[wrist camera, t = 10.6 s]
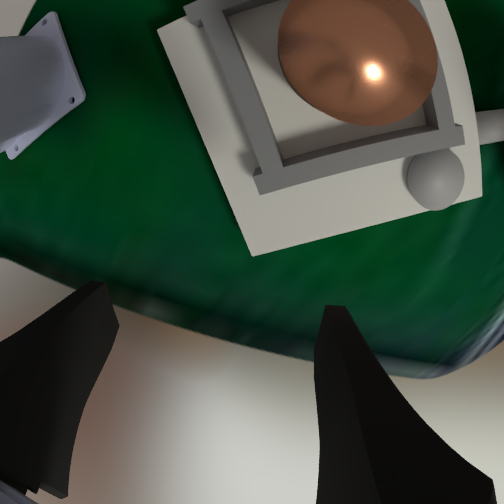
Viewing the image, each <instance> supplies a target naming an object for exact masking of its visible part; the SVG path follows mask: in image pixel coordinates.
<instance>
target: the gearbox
mask: <svg viewBox="0 0 504 504" xmlns="http://www.w3.org/2000/svg"><path fill="white" fill-rule="evenodd" d="M290 1H291V0H197V1H195V2H193V3H190V4H188V5H186V6H184V7H183V8H184V10H185V12H186V16H184V17H182V18H180V19H178V20H176V21H174V22H172V23H169V24H167V25H165V26H163V27H162V28H160V29H158V30H157V32H158V34H159V36H160V39H161V41H162V43H163V46H164V48H165V51H166V53H167V55H168V58H169V60H170V63H171V65H172V67H173V70H174V72H175V74H176V77H177V79H178V82H179V84H180V86H181V89H182V91H183V94H184V96H185V98H186V101H187V103H188V105H189V108H190V110H191V113H192V115H193V117H194V120H195V122H196V124H197V127H198V129H199V132H200V134H201V136H202V139H203V141H204V143H205V146H206V148H207V151H208V153H209V155H210V158H211V160H212V162H213V165H214V167H215V170H216V172H217V174H218V177H219V179H220V181H221V184H222V186H223V189H224V191H225V193H226V196H227V198H228V200H229V203H230V205H231V207H232V210H233V212H234V215H235V217H236V219H237V222H238V224H239V226H240V229H241V231H242V234H243V236H244V238H245V241H246V243H247V245H248V248H249V250H250V252H251V255H252V256H256V255H260V254H264V253H268V252H272V251H276V250H279V249H283V248H287V247H291V246H295V245H299V244H303V243H307V242H310V241H314V240H318V239H322V238H326V237H330V236H334V235H337V234H341V233H345V232H349V231H353V230H357V229H360V228H364V227H368V226H372V225H376V224H380V223H383V222H387V221H391V220H395V219H399V218H403V217H406V216H410V215H414V214H418V213H422V212H425V211H429V210H442V209H445V208H447V207H448V206H450V205H452V204H456V203H459V202H463V201H467V200H471V199H474V198H478V197H482V174H481V158H480V147H479V145H482V144H488V143H493V142H499V141H504V109H498V110H489V111H481V112H475V109H474V103H473V97H472V92H471V87H470V83H469V78H468V74H467V70H466V65H465V62H464V58H463V54H462V51H461V47H460V44H459V40H458V37H457V34H456V31H455V28H454V25H453V22H452V19H451V16H450V14H449V11H448V8H447V6H446V3H445V1H444V0H408V1H410V2H411V3H412V4H413V6H414V7H415V8H416V9H417V10H418V11H419V12H420V14H421V15H422V16H423V18H424V19H425V21H426V23H427V24H428V26H429V28H430V30H431V33H432V35H433V38H434V41H435V44H436V50H437V58H438V67H437V75H436V79H435V83H434V85H433V88H432V90H431V92H430V94H429V96H428V97H427V99H426V100H425V101H424V103H423V104H422V105H421V106H420V107H419V108H418V109H417V110H416V111H415V112H413V113H412V114H410V115H409V116H407V117H405V118H403V119H402V120H400V121H397V122H394V123H391V124H386V125H381V126H360V125H355V124H350V123H346V122H343V121H340V120H338V119H335V118H333V117H331V116H329V115H327V114H325V113H323V112H321V111H319V110H317V109H316V108H314V107H312V106H311V105H309V104H308V103H306V102H305V101H304V100H302V99H301V98H300V97H299V96H298V95H297V94H296V93H295V92H294V91H293V90H292V89H291V87H290V86H289V84H288V83H287V81H286V79H285V77H284V76H283V73H282V70H281V68H280V63H279V58H278V30H279V25H280V21H281V18H282V15H283V13H284V11H285V9H286V7H287V6H288V4H289V2H290Z"/></svg>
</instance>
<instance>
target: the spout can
mask: <svg viewBox="0 0 504 504" xmlns="http://www.w3.org/2000/svg"><path fill="white" fill-rule="evenodd" d="M278 58H279V63H280V68H281V70H282V73H283V76H284V77H285V79H286V81H287V83H288V84H289V86H290V87H291V89H292V90H293V91H294V92H295V93H296V94H297V95H298V96H299V97H300V98H301V99H302V100H304V101H305V102H306V103H308V104H309V105H311V106H312V107H314V108H316V109H317V110H319V111H321V112H323V113H325V114H327V115H329V116H331V117H333V118H335V119H338V120H340V121H343V122H346V123H350V124H355V125H360V126H381V125H386V124H391V123H394V122H397V121H400V120H402V119H403V118H405V117H407V116H409V115H410V114H412V113H413V112H415V111H416V110H417V109H418V108H419V107H420V106H421V105H422V104H423V103H424V101H425V100H426V99H427V97H428V96H429V94H430V92H431V90H432V88H433V85H434V83H435V79H436V75H437V67H438V58H437V50H436V44H435V41H434V38H433V35H432V33H431V30H430V28H429V26H428V24H427V23H426V21H425V19H424V18H423V16H422V15H421V14H420V12H419V11H418V10H417V9H416V8H415V7H414V6H413V4H412V3H411V2H410V1H408V0H291V1H290V2H289V4H288V6H287V7H286V9H285V11H284V13H283V15H282V18H281V21H280V25H279V30H278Z"/></svg>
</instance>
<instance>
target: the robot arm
mask: <svg viewBox="0 0 504 504" xmlns="http://www.w3.org/2000/svg"><path fill="white" fill-rule="evenodd" d="M46 21H47V23H46ZM45 23H46V24H45ZM73 97H74V99H75V101H74V103H73V102H72V99H73ZM85 97H86V94H85V90H84V88H83V85H82V83H81V80H80V78H79V75H78V73H77V70H76V67H75V65H74V62H73V59H72V56H71V54H70V51H69V48H68V45H67V42H66V39H65V36H64V33H63V30H62V27H61V24H60V21H59V18H58V15H57V13H56V12H49V13H48V14H47V15H46V16H44V17H43V18H42V19H41V20H40V21H39V22H38V23H37V24H36V25H35V26H34V27H33V28H32V29H31V30H30V31H29V32H28V33H27V34H26V35H25V36H11V37H0V153H1V152H3V151H6V153H7V155H8V157H9V159H11V160H12V159H14V158H16V157H17V156H18V155H19V154H20V153H21V152H22V151H23V150H24V149H25V148H26V147H27V146H29V145H30V144H31V143H32V142H33V141H34V140H35V139H36V138H38V137H39V136H40V135H41V134H42V133H43V132H45V131H46V130H47V129H48V128H49V127H51V126H52V125H53V124H54V123H56V122H57V121H58V120H59V119H61V118H62V117H63V116H65V115H66V114H67V113H69V112H70V111H71V110H72V109H74V108H75V107H77V106H78V105H79V104H81V103H82V102H83V101H84V100H85ZM118 328H119V323H118V320H117V317H116V314H115V312H114V308H113V305H112V302H111V299H110V296H109V293H108V290H107V286H106V283H103V282H96V281H90V282H89V283H87V284H85V285H84V286H82V287H81V288H79V289H78V290H76V291H75V292H73V293H72V294H70V295H69V296H68V297H66V298H65V299H63V300H62V301H61V302H59V303H58V304H56V305H55V306H54V307H52V308H51V309H49V310H48V311H47V312H45V313H44V314H42V315H41V316H40V317H38V318H37V319H35V320H34V321H32V322H31V323H29V324H28V325H26V326H25V327H24V328H22V329H21V330H19V331H18V332H16V333H14V334H13V335H11V336H10V337H8V338H6V339H4V340H3V341H1V342H0V504H38V503H36V502H35V501H33V500H31V499H30V498H28V497H27V496H25V495H26V492H27V489H28V490H30V491H31V492H33V493H35V494H36V493H37V492H38V489H39V488H40V489H42V490H44V491H46V492H48V493H50V494H52V495H54V496H56V497H58V498H60V499H63V498H65V497H67V496H68V484H69V483H68V482H69V472H70V464H71V457H72V451H73V446H74V442H75V438H76V433H77V429H78V426H79V423H80V419H81V416H82V413H83V409H84V407H85V404H86V402H87V399H88V397H89V395H90V393H91V390H92V388H93V386H94V384H95V382H96V380H97V378H98V376H99V374H100V372H101V370H102V368H103V366H104V364H105V362H106V360H107V357H108V355H109V353H110V351H111V349H112V346H113V343H114V341H115V338H116V334H117V331H118ZM314 382H315V392H316V402H317V414H318V425H319V438H320V458H319V476H318V489H317V500H316V504H497V501H496V495H495V489H494V484H493V480H492V479H491V478H490V477H488V476H487V475H485V474H484V473H483V472H481V471H480V470H478V469H477V468H476V467H474V466H473V465H471V464H470V463H469V462H467V461H466V460H465V459H464V458H463V457H461V456H460V455H459V454H458V453H457V452H456V451H454V450H453V449H452V448H451V447H450V446H449V445H448V444H447V443H445V441H444V440H442V438H440V436H439V435H438V434H437V433H435V432H434V431H433V430H432V428H431V427H429V426H428V425H427V424H426V422H425V421H424V420H423V419H422V418H421V417H420V416H419V414H418V413H417V412H416V411H415V410H414V409H413V408H412V406H411V405H410V404H409V403H408V401H407V400H406V399H405V398H404V396H403V395H402V394H401V393H400V392H399V390H398V389H397V387H396V386H395V385H394V383H393V382H392V380H391V379H390V377H389V376H388V375H387V373H386V372H385V370H384V369H383V367H382V366H381V364H380V363H379V361H378V360H377V358H376V357H375V355H374V353H373V352H372V350H371V349H370V347H369V346H368V344H367V342H366V341H365V339H364V337H363V336H362V334H361V332H360V331H359V329H358V327H357V325H356V324H355V322H354V320H353V318H352V317H351V315H350V313H349V311H348V310H347V308H346V307H345V306H333V305H325V309H324V313H323V317H322V321H321V325H320V329H319V333H318V337H317V340H316V344H315V348H314Z"/></svg>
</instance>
